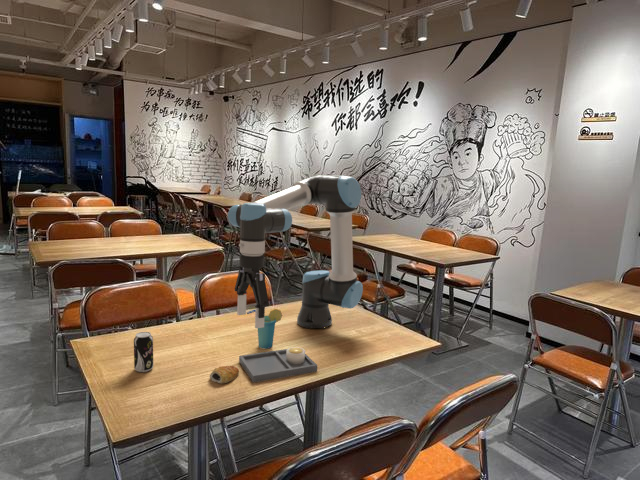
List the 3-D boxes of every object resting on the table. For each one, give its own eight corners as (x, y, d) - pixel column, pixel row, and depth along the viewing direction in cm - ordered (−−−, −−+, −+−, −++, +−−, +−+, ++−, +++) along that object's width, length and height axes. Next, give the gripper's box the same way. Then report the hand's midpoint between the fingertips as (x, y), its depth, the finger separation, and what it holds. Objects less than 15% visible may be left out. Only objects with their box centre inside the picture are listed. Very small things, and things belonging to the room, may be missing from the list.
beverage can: (141, 375, 139) (141, 338, 137) (130, 370, 142) (129, 334, 140) (157, 368, 144) (156, 333, 142) (145, 364, 147) (145, 329, 145)
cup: (250, 353, 158) (251, 313, 156) (241, 346, 165) (242, 307, 162) (284, 346, 166) (286, 308, 164) (274, 339, 172) (275, 302, 170)
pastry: (229, 369, 146) (229, 358, 145) (244, 375, 142) (244, 364, 142) (207, 380, 138) (207, 368, 137) (223, 386, 134) (223, 375, 134)
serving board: (239, 361, 151) (239, 348, 151) (298, 352, 161) (298, 340, 160) (253, 382, 137) (253, 367, 136) (317, 371, 147) (317, 357, 146)
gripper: (225, 247, 143) (224, 311, 146) (258, 262, 123) (256, 335, 126) (246, 246, 147) (245, 308, 150) (282, 260, 127) (279, 331, 130)
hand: (250, 320), depth 138 cm, fingers open, 13 cm apart
